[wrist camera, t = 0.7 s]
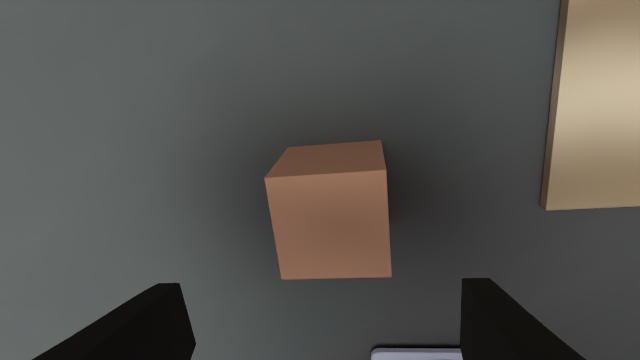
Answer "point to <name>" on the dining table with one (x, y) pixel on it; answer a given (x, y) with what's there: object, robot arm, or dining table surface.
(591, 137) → the beige flat square sheet
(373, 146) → the terracotta cube
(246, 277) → the dining table surface
